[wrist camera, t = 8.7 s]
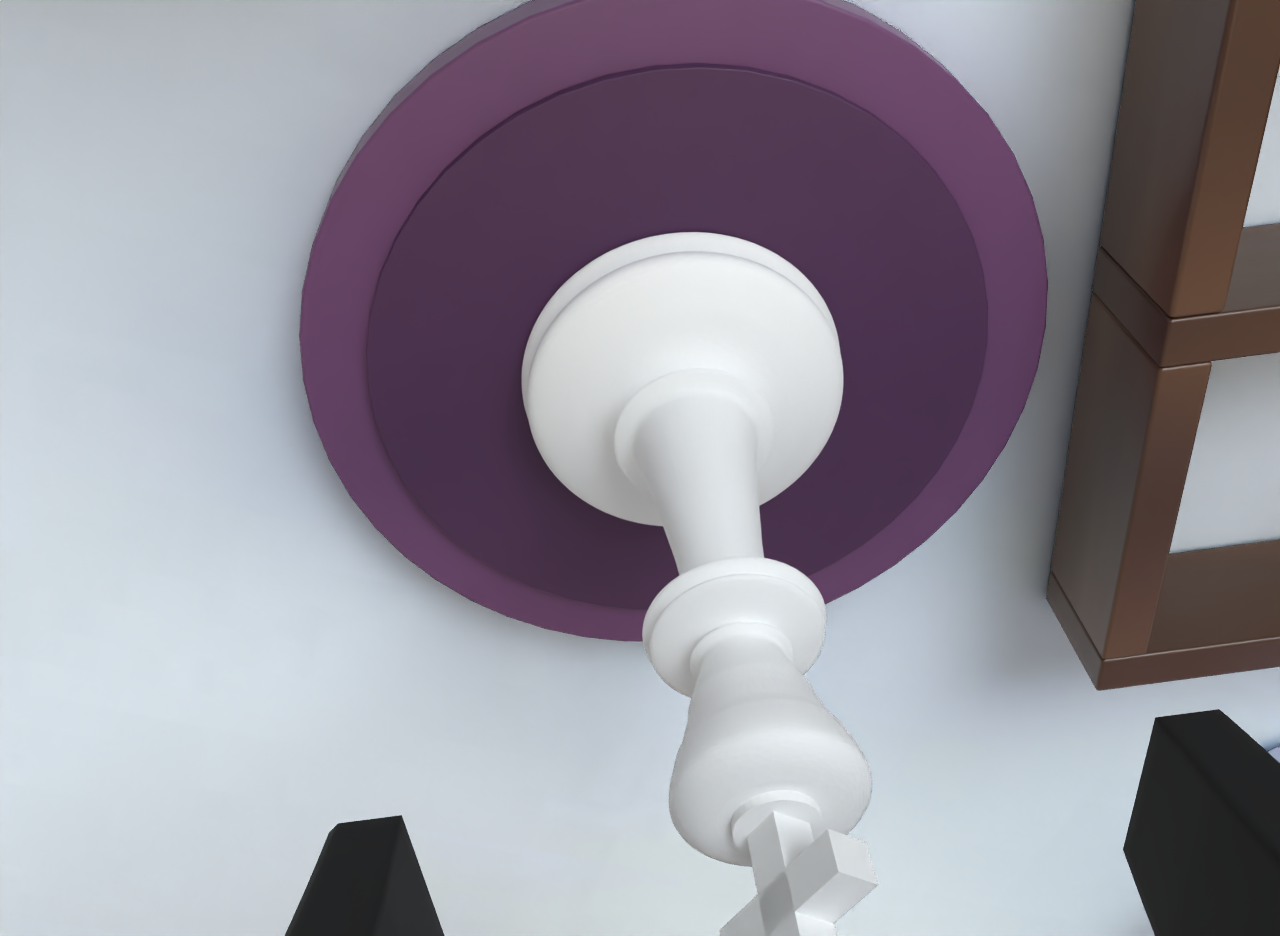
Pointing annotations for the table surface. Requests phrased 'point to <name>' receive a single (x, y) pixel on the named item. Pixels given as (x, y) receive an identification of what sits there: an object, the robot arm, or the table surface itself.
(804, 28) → the lid
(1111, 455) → the rack
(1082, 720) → the table surface
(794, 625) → the chess piece
